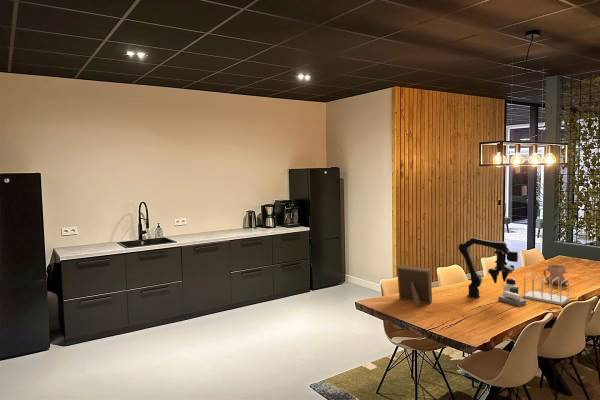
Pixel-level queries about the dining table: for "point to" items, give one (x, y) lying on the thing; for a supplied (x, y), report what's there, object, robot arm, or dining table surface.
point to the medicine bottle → (510, 286)
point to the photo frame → (414, 284)
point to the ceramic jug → (556, 274)
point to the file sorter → (546, 296)
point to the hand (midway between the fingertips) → (499, 282)
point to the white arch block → (512, 295)
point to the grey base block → (512, 301)
